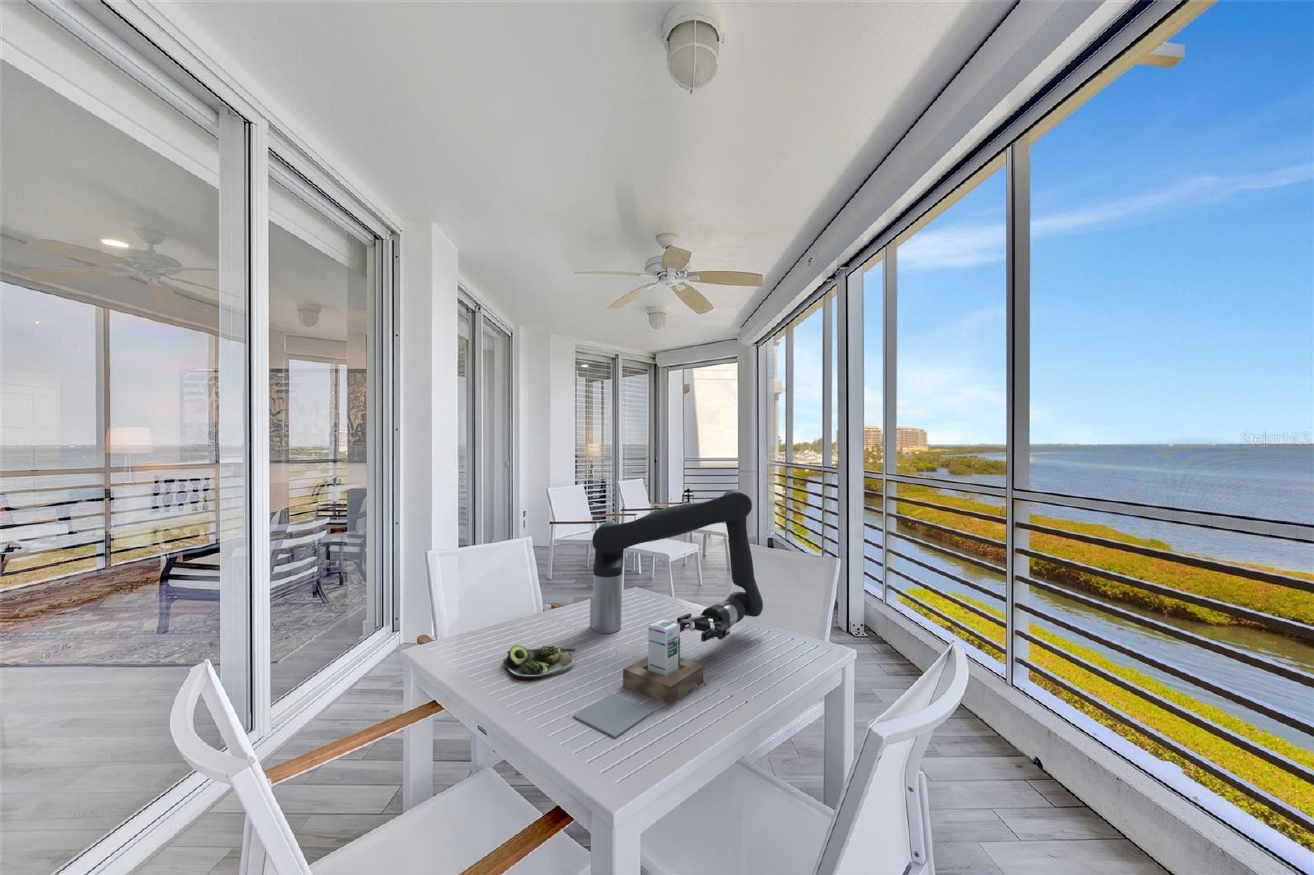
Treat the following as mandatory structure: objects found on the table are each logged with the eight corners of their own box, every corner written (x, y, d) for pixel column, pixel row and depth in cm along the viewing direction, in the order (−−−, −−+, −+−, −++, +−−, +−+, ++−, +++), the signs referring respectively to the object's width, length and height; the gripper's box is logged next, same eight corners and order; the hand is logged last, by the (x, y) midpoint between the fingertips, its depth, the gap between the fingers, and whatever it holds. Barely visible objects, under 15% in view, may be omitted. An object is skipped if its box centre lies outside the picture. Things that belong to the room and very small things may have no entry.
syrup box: (666, 692, 112) (667, 629, 113) (646, 684, 116) (647, 624, 116) (680, 683, 117) (681, 623, 117) (660, 676, 120) (661, 617, 121)
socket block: (622, 685, 115) (623, 668, 115) (658, 665, 126) (658, 650, 126) (670, 705, 107) (670, 686, 107) (703, 682, 118) (703, 665, 118)
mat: (573, 717, 101) (573, 715, 101) (611, 695, 110) (611, 693, 110) (615, 738, 94) (615, 736, 94) (652, 713, 103) (652, 711, 103)
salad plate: (564, 645, 139) (564, 629, 140) (590, 668, 125) (591, 651, 125) (496, 660, 129) (497, 642, 129) (516, 687, 114) (517, 668, 114)
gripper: (698, 599, 142) (666, 613, 130) (742, 609, 134) (712, 625, 121) (698, 625, 142) (666, 641, 129) (741, 636, 134) (711, 655, 121)
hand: (688, 633), depth 125 cm, fingers open, 8 cm apart
